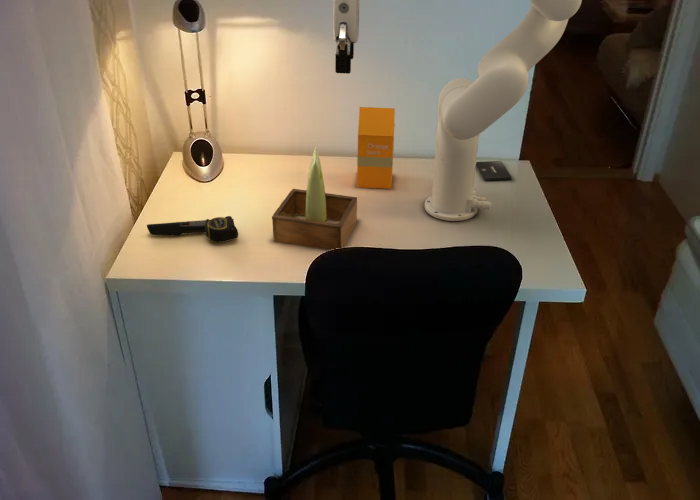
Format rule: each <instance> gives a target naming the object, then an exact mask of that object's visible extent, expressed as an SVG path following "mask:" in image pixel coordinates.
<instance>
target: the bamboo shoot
mask: <svg viewBox="0 0 700 500" xmlns="http://www.w3.org/2000/svg"><path fill="white" fill-rule="evenodd" d="M324 181H325V180H324V175H323V170H322V164H321V159H320V155H319V153H318V150H317V145H315V146H314V150H313V153H312V157H311V161H310V165H309V171H308V176H307V183H306V190H307V194H306V216H305V219H306V220H313V221H320V222H327V223H328V219H327V215H326V198H325V193H326V190H325V189H326V188H325V182H324Z"/></svg>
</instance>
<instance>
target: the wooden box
mask: <svg viewBox="0 0 700 500" xmlns="http://www.w3.org/2000/svg"><path fill="white" fill-rule="evenodd" d="M306 194H307V189H306V190H305V189H299V188H292V189H291V190H290V191H289V193H287V195H286V197H284V199H283V201H282V202H281V203H280V204H279V206H278V207H277V209H276V210H275V212H273V214H272V216H271V220H272V221H271V223H272V237H273V239H272V240H273V242H277V243H283V244H288V245H289V244H290V245H296V246H302V247H309V248H314V249H321V250H329V251H332V250H331V249H336V248H342V247H343V248H344V246H345V245H346V242H347V241H348V239H349V237H350V235H351V233H352V232H353V229H354V227H355V226H356V224H357V222H358V196H357V197H356V196H350V195H342V194H336V193H328V192H325V198H326V215H327V220H334V221H338V223H334V222H333V223H332V222H328V221H327V222H320V221H313V220H306V218H299V217H295V216H296V215H299V216H305V217H306ZM343 248H342V249H343Z"/></svg>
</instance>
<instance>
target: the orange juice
mask: <svg viewBox="0 0 700 500" xmlns="http://www.w3.org/2000/svg"><path fill="white" fill-rule="evenodd" d="M395 110H396V108H393V107H373V106H372V107H370V106H359V111H358V127H357V128H358V129H357V160H356V163H357V164H356V165H357V166H356V167H357V168H356V169H357V171H356V173H357V174H356V175H357V176H356V187H357V188H364V189H365V188H366V189H367V188H370V189H386V190H387V189H389V190H390V189H392V183H393V169H394V168H393V165H394V151H395V148H394V147H395V146H394V144H395V125H396V124H395V116H396V115H395V113H396V111H395Z"/></svg>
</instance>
